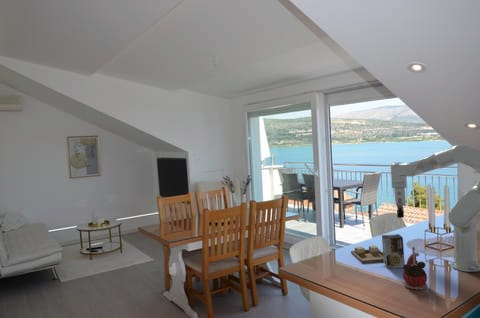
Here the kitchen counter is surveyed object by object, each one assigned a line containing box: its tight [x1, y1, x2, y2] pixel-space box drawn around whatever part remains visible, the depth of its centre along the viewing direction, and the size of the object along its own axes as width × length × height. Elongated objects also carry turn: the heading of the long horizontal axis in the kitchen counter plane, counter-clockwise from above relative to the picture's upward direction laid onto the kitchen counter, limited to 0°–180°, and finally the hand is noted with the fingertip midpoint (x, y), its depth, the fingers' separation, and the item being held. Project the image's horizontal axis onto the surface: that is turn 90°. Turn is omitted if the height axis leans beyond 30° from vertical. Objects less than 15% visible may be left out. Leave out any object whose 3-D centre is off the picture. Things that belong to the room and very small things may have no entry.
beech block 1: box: [354, 245, 366, 256], centre depth 210 cm, size 4×4×4 cm
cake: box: [402, 246, 428, 290], centre depth 164 cm, size 11×9×18 cm
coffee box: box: [381, 233, 406, 270], centre depth 190 cm, size 9×6×16 cm
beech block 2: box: [368, 245, 379, 255], centre depth 210 cm, size 4×4×4 cm
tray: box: [350, 248, 384, 264], centre depth 204 cm, size 18×16×2 cm
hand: (400, 215), depth 201 cm, fingers open, 9 cm apart
